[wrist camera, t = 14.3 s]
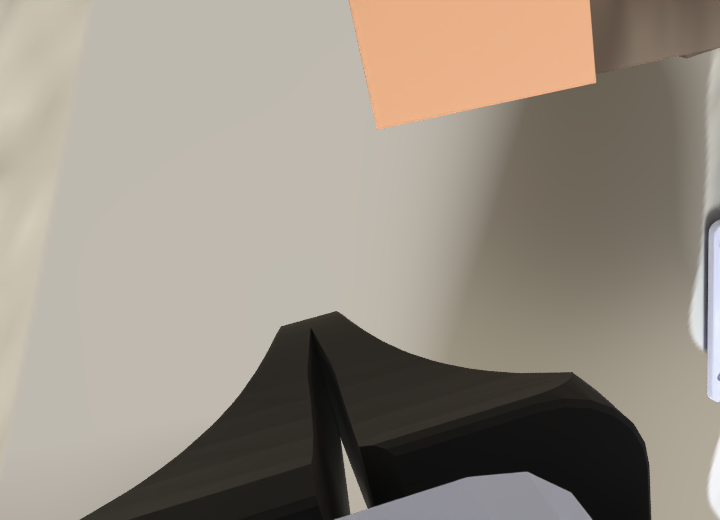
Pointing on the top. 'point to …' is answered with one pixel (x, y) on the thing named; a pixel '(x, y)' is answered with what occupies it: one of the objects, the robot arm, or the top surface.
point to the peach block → (469, 53)
